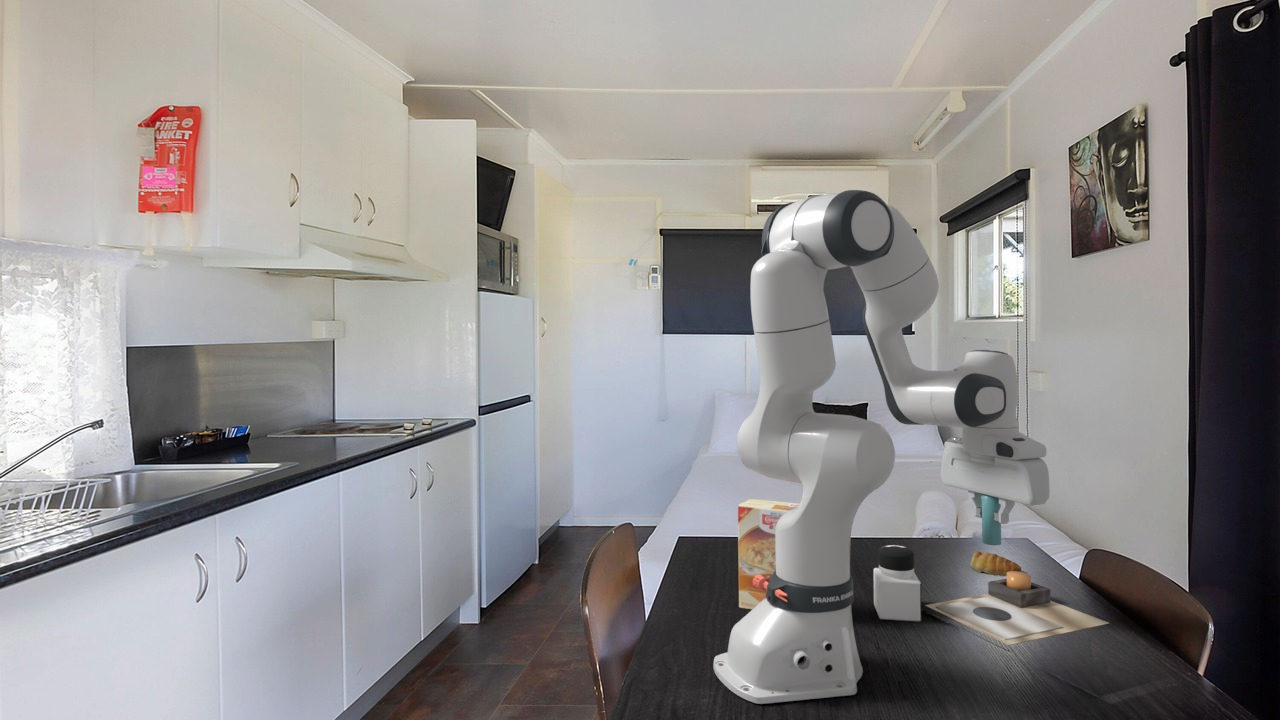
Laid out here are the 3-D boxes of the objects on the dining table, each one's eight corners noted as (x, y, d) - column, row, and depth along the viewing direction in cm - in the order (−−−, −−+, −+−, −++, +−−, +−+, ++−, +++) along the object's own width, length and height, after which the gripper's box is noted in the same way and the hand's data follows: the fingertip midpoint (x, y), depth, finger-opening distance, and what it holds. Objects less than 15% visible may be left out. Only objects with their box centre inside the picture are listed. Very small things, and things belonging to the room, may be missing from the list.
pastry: (1024, 572, 144) (1024, 555, 144) (1017, 581, 139) (1017, 563, 139) (976, 564, 150) (976, 547, 150) (968, 572, 145) (968, 554, 145)
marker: (992, 546, 116) (991, 483, 116) (977, 541, 119) (976, 480, 119) (1006, 544, 117) (1005, 481, 117) (991, 539, 120) (990, 478, 120)
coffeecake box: (738, 608, 126) (736, 505, 126) (750, 595, 133) (748, 497, 132) (817, 621, 119) (816, 513, 119) (826, 607, 126) (825, 504, 125)
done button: (1020, 595, 123) (1019, 579, 123) (1001, 588, 127) (1001, 572, 127) (1036, 592, 125) (1036, 576, 125) (1017, 585, 128) (1017, 570, 128)
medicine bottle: (921, 622, 118) (920, 554, 118) (879, 619, 120) (878, 553, 120) (913, 607, 125) (912, 543, 125) (873, 604, 127) (872, 541, 127)
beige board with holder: (1008, 651, 106) (1007, 629, 106) (924, 610, 123) (924, 591, 123) (1109, 628, 114) (1109, 608, 114) (1018, 593, 131) (1018, 575, 131)
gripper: (932, 436, 127) (933, 508, 127) (1027, 451, 107) (1028, 536, 108) (958, 434, 129) (958, 505, 129) (1055, 448, 110) (1056, 532, 110)
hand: (991, 520), depth 118 cm, fingers closed on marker, 3 cm apart
